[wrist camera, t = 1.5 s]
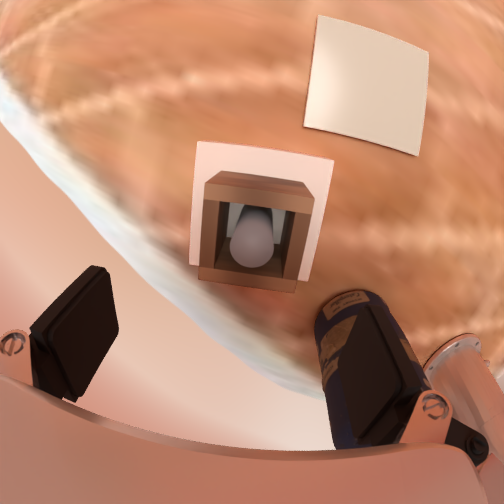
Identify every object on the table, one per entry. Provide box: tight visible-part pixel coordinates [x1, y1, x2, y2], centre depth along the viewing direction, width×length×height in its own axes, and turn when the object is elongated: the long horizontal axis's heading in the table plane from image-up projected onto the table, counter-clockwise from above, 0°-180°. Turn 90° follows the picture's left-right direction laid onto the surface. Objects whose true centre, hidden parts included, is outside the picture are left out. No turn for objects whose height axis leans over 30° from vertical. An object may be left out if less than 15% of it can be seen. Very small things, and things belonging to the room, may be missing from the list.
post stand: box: [189, 140, 334, 281], centre depth 21 cm, size 11×11×11 cm
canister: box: [314, 291, 432, 450], centre depth 23 cm, size 10×10×18 cm
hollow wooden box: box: [198, 170, 315, 293], centre depth 20 cm, size 7×7×6 cm
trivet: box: [303, 15, 429, 156], centre depth 20 cm, size 12×12×1 cm
